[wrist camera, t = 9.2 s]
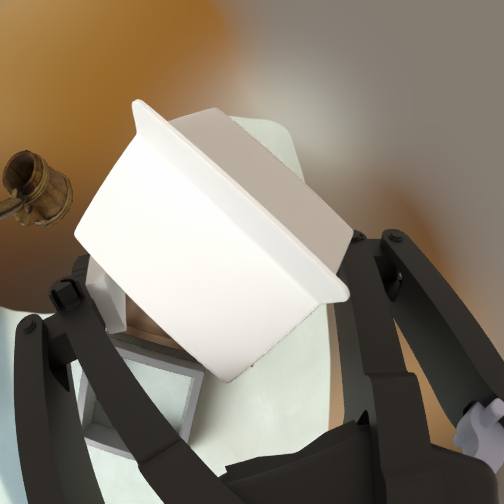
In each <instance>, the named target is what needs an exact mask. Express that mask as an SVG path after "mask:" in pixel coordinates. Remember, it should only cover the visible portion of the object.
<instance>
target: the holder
mask: <svg viewBox="0 0 504 504" xmlns="http://www.w3.org/2000/svg"><path fill="white" fill-rule="evenodd" d="M109 338H110V340H111V341H112V343H113V345H114V346H115V348H116V349H117V351H118V352H119V354H120V356H121V357H123V358H126V359H129V360H133V361H136V362H139V363H142V364H145V365H149V366H152V367H156V368H159V369H163V370H166V371H170V372H174V373H177V374H181V375H185V376H189V377H192V379H191V383H190V387H189V391H188V396H187V400H186V404H185V408H184V413H183V417H182V422H181V426H180V430H179V436H180V437H181V438H182V439H183V440H184V441H185V442H186V443H187V444H188V439H189V435H190V431H191V427H192V422H193V418H194V414H195V410H196V406H197V401H198V397H199V393H200V389H201V385H202V381H203V377H204V373H205V372H204V368H203V365H202V364H201V363H197V362H193V361H189V360H185V359H181V358H177V357H174V356H170V355H167V354H163V353H159V352H156V351H153V350H149V349H146V348H143V347H139V346H136V345H133V344H130V343H127V342H124V341H121V340H118V339H115V338H112V337H109ZM95 401H96V395H95V393H94V391H93V389H92V387H91V385H90V383H89V381H88V379H87V377H86V375H85V373H84V371H83V370H82V376H81V382H80V389H79V395H78V402H77V406H78V411H79V415H80V420H81V425H82V429H83V433H84V437H85V441H86V444H87V445H90V446H93V447H95V448H98V449H101V450H104V451H107V452H110V453H113V454H116V455H119V456H122V457H125V458H128V459H132V460H135V458H134V457H133V455H132V454H131V453H130V451H129V450H128V448H127V447H126V445H125V444H124V442H123V440H122V439H121V437H120V436H119V434H118V433H117V431H116V430H114V429H111V428H109V427H106V426H103V425H100V424H97V423H95V422H93V415H94V408H95ZM135 461H136V460H135Z"/></svg>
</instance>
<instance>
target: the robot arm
mask: <svg viewBox="0 0 504 504" xmlns="http://www.w3.org/2000/svg"><path fill="white" fill-rule="evenodd" d="M400 273H401V275H402V278H401V277H400V275H399V274H400ZM336 276H337V277H338V278H339V279H340V280H341V281H342V282H343V283H344V284H345V285H346V286H347V288H348V289H349V292H350V297H349V298H348V300H347V301H345V302H336V303H334V309H335V316H336V325H337V334H338V341H339V352H340V362H341V372H342V383H343V395H344V407H345V414H344V421H343V425H341V426H339V427H336V428H334V429H332V430H330V431H327V432H325V433H324V434H322V435H321V436H320V437H318V438H317V439H316V440H314V441H313V442H311V443H310V444H309V445H307V446H306V447H304V448H303V449H301V450H300V451H298V452H296V453H292V454H283V455H274V456H262V457H256V458H253V459H250V460H246V461H243V462H239V463H236V464H232V465H228V466H225V468H226V471H227V473H225V474H223V475H221V476H219V477H217V476H216V475H215V474H214V473H213V472H212V471H211V470H210V469H209V467H208V466H207V465H206V464H205V463H204V462H203V461H202V460H201V459H200V458H199V457H198V456H197V454H196V453H195V452H194V451H193V450H192V449H191V448H190V447H189V445H188V444H187V443H186V442H185V441H184V440H183V439H182V438H181V437H180V436H179V435H178V433H177V432H176V431H175V430H174V429H173V427H172V426H171V425H170V424H169V422H168V421H167V420H166V419H165V417H164V416H163V415H162V414H161V412H160V411H159V410H158V408H157V407H156V406H155V404H154V403H153V402H152V400H151V399H150V398H149V396H148V395H147V394H146V392H145V391H144V389H143V388H142V387H141V385H140V384H139V382H138V381H137V380H136V378H135V377H134V375H133V374H132V372H131V371H130V369H129V368H128V366H127V365H126V363H125V362H124V360H123V359H122V357H121V356H120V354H119V352H118V351H117V349H116V348H115V346H114V345H113V343H112V341H111V340H110V338H109V336H108V335H107V333H106V331H105V328H107V329H108V331H109V333H110V334H113V333H118V332H123V331H127V328H126V303H125V292H124V291H123V290H122V288H121V287H120V286H119V285H118V284H117V283H116V282H115V281H114V280H113V279H112V278H111V277H110V276H109V275H108V274H107V273H106V271H105V270H104V269H103V268H102V267H101V266H100V265H99V264H98V263H97V262H96V260H95V259H94V258H93V257H92V256H91V255H90V254H87V255H83V256H79V257H78V259H77V260H76V261H75V263H74V265H73V269H72V274H71V276H67V277H63V278H61V279H59V280H58V281H56V282H55V283H54V284H53V285H52V286H51V288H50V289H49V297H50V299H51V301H52V303H53V304H54V306H55V308H56V310H57V311H58V312H57V313H55V314H54V315H52V316H50V317H48V318H46V319H44V320H42V318H41V317H40V316H39V315H37V314H31V315H28V316H26V317H24V318H23V319H22V320H21V321H20V322H19V324H18V325H17V328H16V334H15V350H14V407H15V423H16V434H17V443H18V451H19V458H20V465H21V471H22V476H23V481H24V486H25V491H26V495H27V500H28V504H105V502H104V500H103V497H102V494H101V491H100V488H99V485H98V482H97V479H96V476H95V473H94V470H93V466H92V463H91V460H90V456H89V453H88V449H87V445H86V441H85V437H84V433H83V429H82V425H81V420H80V415H79V411H78V406H77V400H76V395H75V389H74V383H73V377H72V370H71V362H73V361H75V360H77V359H78V361H79V363H80V365H81V367H82V369H83V371H84V373H85V375H86V377H87V379H88V381H89V383H90V385H91V387H92V389H93V391H94V393H95V395H96V397H97V398H98V400H99V402H100V404H101V406H102V407H103V409H104V411H105V413H106V414H107V416H108V418H109V419H110V421H111V423H112V424H113V426H114V428H115V429H116V431H117V433H118V434H119V436H120V437H121V439H122V440H123V442H124V444H125V445H126V447H127V448H128V450H129V451H130V453H131V454H132V455H133V457H134V458H135V460H136V461H137V463H138V468H139V470H140V472H141V474H142V475H143V477H144V478H145V479H146V481H147V482H148V483H149V485H150V486H151V487H152V489H153V490H154V491H155V492H156V494H157V495H158V496H159V497H160V499H161V500H162V501H163V502H164V504H499V499H498V483H497V478H496V475H495V474H496V472H497V471H498V470H499V468H500V467H501V465H502V464H503V462H504V361H503V359H502V358H501V356H500V355H499V354H498V352H497V350H496V349H495V347H494V346H493V344H492V343H491V341H490V340H489V338H488V337H487V335H486V334H485V332H484V331H483V329H482V328H481V327H480V325H479V324H478V322H477V321H476V319H475V318H474V317H473V315H472V314H471V313H470V311H469V310H468V309H467V307H466V306H465V305H464V303H463V302H462V301H461V299H460V298H459V297H458V295H457V294H456V293H455V291H454V290H453V289H452V288H451V286H450V285H449V284H448V283H447V281H446V280H445V279H444V278H443V276H442V275H441V274H440V273H439V272H438V271H437V269H436V268H435V267H434V266H433V264H432V263H431V262H430V261H429V260H428V258H427V257H426V256H425V255H424V254H423V253H422V251H421V250H420V249H419V248H418V247H417V246H416V245H415V244H414V242H413V241H412V240H411V239H410V238H409V237H408V236H407V235H406V234H405V233H404V232H401V231H399V230H396V229H388V230H385V231H383V233H382V238H381V239H367V237H366V236H365V235H364V234H363V233H361V232H359V231H357V230H353V236H352V239H351V241H350V243H349V246H348V248H347V250H346V253H345V255H344V257H343V260H342V262H341V264H340V267H339V269H338V271H337V273H336ZM393 318H394V320H395V321H396V323H397V325H398V326H399V328H400V330H401V332H402V333H403V335H404V337H405V339H406V341H407V342H408V344H409V346H410V348H411V349H412V351H413V353H414V355H415V357H416V359H417V360H418V362H419V364H420V366H421V368H422V370H423V372H424V374H425V376H426V377H427V379H428V381H429V383H430V385H431V387H432V389H433V391H434V393H435V395H436V397H437V399H438V401H439V403H440V405H441V407H442V409H443V411H444V412H445V414H446V416H447V417H448V419H449V420H450V422H451V423H452V424H453V425H454V427H455V428H456V435H455V436H454V440H453V441H454V444H455V446H456V447H459V448H462V450H463V454H462V453H459V452H455V451H452V450H449V449H446V448H443V447H440V446H437V445H434V444H432V443H430V436H429V431H428V425H427V420H426V415H425V409H424V405H423V401H422V395H421V391H420V387H419V382H418V379H417V376H416V375H415V374H414V373H411V372H408V371H407V370H406V366H405V362H404V358H403V354H402V350H401V346H400V342H399V338H398V335H397V331H396V327H395V323H394V320H393Z"/></svg>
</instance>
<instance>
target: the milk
mask: <svg viewBox="0 0 504 504" xmlns="http://www.w3.org/2000/svg"><path fill="white" fill-rule="evenodd" d="M132 110H133V115H134V120H135V124H136V129H137V134H136V136H135V137H134V139H133V140H132V141H131V143H130V144H129V145H128V147H127V148H126V150H125V151H124V153H123V154H122V156H121V157H120V158H119V160H118V161H117V163H116V164H115V166H114V167H113V169H112V170H111V172H110V173H109V175H108V176H107V178H106V180H105V181H104V182H103V184H102V186H101V187H100V189H99V190H98V192H97V194H96V195H95V197H94V198H93V200H92V202H91V203H90V205H89V207H88V209H87V210H86V212H85V214H84V215H83V217H82V219H81V221H80V223H79V224H78V226H77V228H76V230H75V233H74V235H75V237H76V239H77V240H78V241H79V242H80V243H81V244H82V246H83V247H84V248H85V249H86V250H87V251H88V252H89V254H90V255H91V256H92V257H93V258H94V259H95V260H96V262H97V263H98V264H99V265H100V266H101V267H102V268H103V269H104V270H105V271H106V273H107V274H108V275H109V276H110V277H111V278H112V279H113V280H114V281H115V282H116V283H117V284H118V285H119V286H120V287H121V288H122V290H123V291H124V292H125V293H126V294H127V295H128V296H129V297H130V298H131V299H132V300H133V301H134V302H135V303H136V304H137V305H138V306H139V307H140V308H141V309H142V310H143V311H144V312H145V313H146V314H147V315H148V316H149V317H150V318H152V319H153V320H154V321H155V322H156V323H157V324H158V325H159V326H160V327H161V328H162V329H163V330H164V331H165V332H166V333H167V334H168V335H170V336H171V337H172V338H173V339H174V340H175V341H176V342H177V343H178V344H179V345H181V346H182V347H183V348H184V349H185V350H186V351H187V352H188V353H190V354H191V355H192V356H193V357H194V358H195V359H196V360H198V361H199V362H200V363H201V364H202V365H203V366H205V367H206V368H207V369H208V370H209V371H211V372H212V373H213V374H214V375H215V376H217V377H218V378H219V379H220V380H222V381H223V382H225V383H230V382H231V381H233V380H234V379H235V378H237V377H238V376H239V375H240V374H242V373H243V372H244V371H245V370H247V369H248V368H249V367H250V366H251V365H253V364H254V363H255V362H256V361H257V360H259V359H260V358H261V357H262V356H263V355H265V354H266V353H267V352H268V351H269V350H270V349H272V348H273V347H274V346H275V345H276V344H277V343H279V342H280V341H281V340H282V339H283V338H284V337H285V336H287V335H288V334H289V333H290V332H291V331H292V330H293V329H295V328H296V327H297V326H298V325H299V324H300V323H301V322H302V321H303V320H305V319H306V318H307V317H308V316H309V315H310V314H311V313H312V312H313V311H314V310H315V309H317V308H318V307H319V306H320V305H321V304H325V303H336V302H345V301H347V300H348V298H349V297H350V292H349V289H348V288H347V286H346V285H345V284H344V283H343V282H342V281H341V280H340V279H339V278H338V277H337V276H336V273H337V271H338V269H339V267H340V264H341V262H342V260H343V257H344V255H345V253H346V250H347V248H348V246H349V243H350V241H351V239H352V236H353V230H352V229H351V228H350V226H349V225H348V224H347V223H346V222H345V221H344V220H343V219H342V218H340V216H339V215H338V214H337V213H336V212H335V211H334V210H332V209H331V208H330V207H329V206H328V205H327V204H326V203H325V202H324V201H323V200H322V199H321V198H320V197H319V196H318V195H317V194H316V193H315V192H314V191H313V190H312V189H311V188H310V187H308V186H307V185H306V184H305V183H304V182H303V181H302V180H301V179H300V178H299V177H298V176H297V175H296V174H294V173H293V172H292V171H291V170H290V169H289V168H288V167H287V166H286V165H285V164H283V163H282V162H281V161H280V160H279V159H278V158H277V157H276V156H274V155H273V154H272V153H271V152H270V151H269V150H268V149H266V148H265V147H264V146H263V145H262V144H261V143H259V142H258V141H257V140H256V139H255V138H254V137H252V136H251V135H250V134H249V133H248V132H247V131H245V130H244V129H243V128H242V127H241V126H239V125H238V124H237V123H236V122H234V121H233V120H232V119H231V118H230V117H228V116H227V115H226V114H225V113H223V112H222V111H221V110H220V109H218V108H216V107H215V108H210V109H207V110H203V111H199V112H196V113H193V114H189V115H186V116H183V117H179V118H177V119H173V120H170V121H166V120H165V119H164V118H163V117H162V116H160V115H159V114H158V113H157V112H156V111H154V110H153V109H152V108H151V107H150V106H148V105H147V104H146V103H145V102H144V101H142V100H139V99H137V100H135V101H134V102H133V103H132Z"/></svg>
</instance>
